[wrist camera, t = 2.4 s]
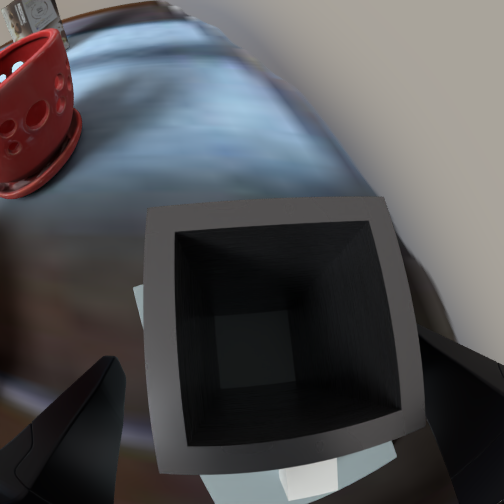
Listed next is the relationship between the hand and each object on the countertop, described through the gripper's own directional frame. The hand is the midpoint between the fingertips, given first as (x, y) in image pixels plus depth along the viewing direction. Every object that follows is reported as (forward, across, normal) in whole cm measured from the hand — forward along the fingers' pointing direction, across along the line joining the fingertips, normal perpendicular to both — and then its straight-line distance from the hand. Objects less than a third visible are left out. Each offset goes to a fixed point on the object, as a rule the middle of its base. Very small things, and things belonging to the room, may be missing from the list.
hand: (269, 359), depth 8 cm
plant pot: (+20, +19, -7) cm, 28 cm away
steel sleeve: (+5, 0, +5) cm, 7 cm away
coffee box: (+40, +33, -28) cm, 59 cm away
